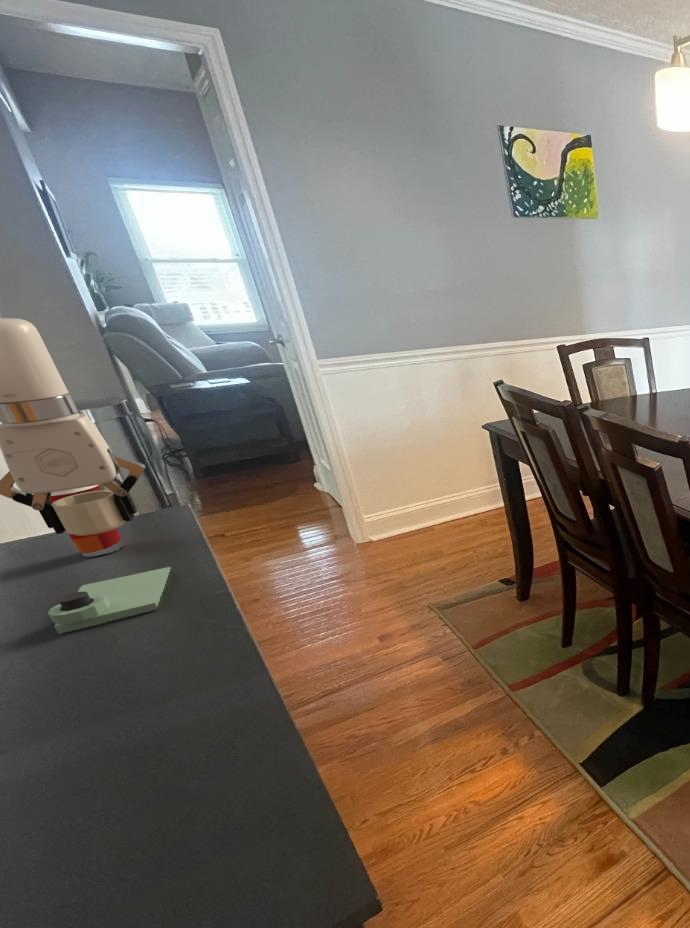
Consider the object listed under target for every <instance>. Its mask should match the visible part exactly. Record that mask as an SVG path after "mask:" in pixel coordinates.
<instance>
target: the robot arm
mask: <svg viewBox="0 0 690 928" xmlns="http://www.w3.org/2000/svg"><path fill="white" fill-rule="evenodd" d="M62 378H63V377H62V376H61V374H60V373H59V370H58V368H57V367H56V365H55V363H54V361H53V358H52V356H51V355H50V352H49V350H48V349H47V346H46V344H45V342H44V340H43V338H42V336H41V334H40V332H39V331H38V329H37V327H36V326H35V325H34V324H33V323H31V321H28V320H25V319H22V318H14V317H5V318H0V451H1V454H2V456H3V459H4V462H5V463H6V466H7V468H8V470H9V471H8V472H7V473H5V475H4V476H3V477H2V478H1V479H0V496H3V497H6V498H8V499H11V500H13V501H14V502H16V503H19V504H22V505H25V506H27V507H30V508H32V510H34V511H38V512H39V514H40V516H41V517H42V519H43V521H44V523H45V525H46V526H47V528H48V529H53V530H54V532H55V534H57V535H60V534H63V533H65V530H64V528H63V526H62V525H61V523H60V521H59V519H58V517H57V516H56V514H55V512H54V510H53V508H52V507H51V504H52V502H51V501H50V498H51V493H52V492H56V491H63V490H69V489H76V488H82V487H88V486H95V485H99V486H103V487H105V488H106V489H108V490H110V491H112V492H113V493H114V494H115V496H116V497H115V498H114V501H115V503H116V505H117V507H118V509H119V511H120V513H121V515H122V517H123V519H124V521H126V522H132V521H133V519H134V517H135V515H136V514H138V508H137V506H136V504H135V502H134V500H133V498H132V496H131V494H130V491H131V490H132V488H133V487H134V486H135V485H136V483H137V482H138V480H139V479H140V477H141V476H142V474H143V472H144V471H145V469H146V465H145V464H143V463H142V462H138V461H135V460H133V459H131V458H127V457H125V456H123V455H119V454H116V453H113V451H112V449H111V448H110V446H109V445H108V443H107V441H106V440H105V438H104V437H103V435H102V434H101V432H100V431H99V429H98V428H97V427H96V425H95V424H94V423H93V422H92V420H91V419H90V418H89V416H87V415H86V414H85V413H79V411H78V409H77V407H76V404H75V402H74V401H73V399H72V396H71V394H70V392H69V391H68V389H67V386H66V384H65V383H64V380H63V379H62ZM121 468H124V469H126V470H128V471H129V473H128V475H127V476H126V478H125V479H124V480H122V479H120V478H119V477H118V476H117V475H118V474H120V473H121ZM14 484H16V486H17V488H16V487H15V486H14Z"/></svg>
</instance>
